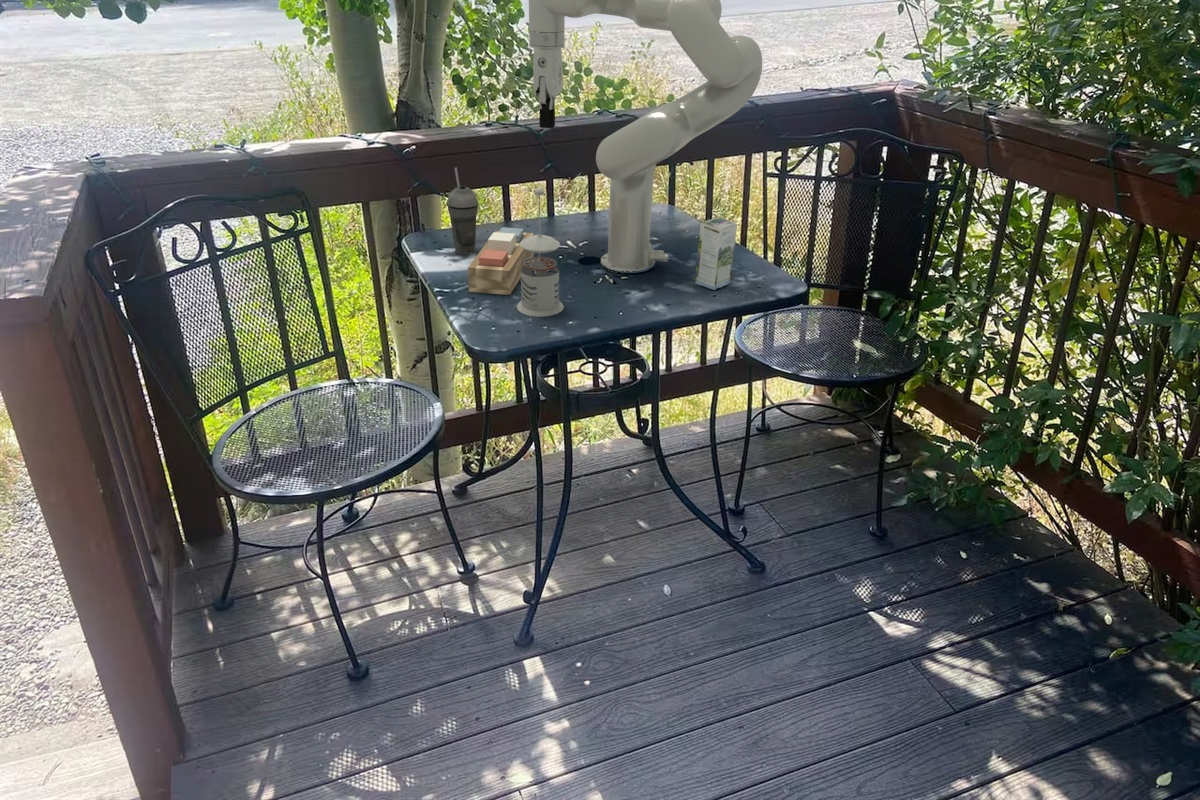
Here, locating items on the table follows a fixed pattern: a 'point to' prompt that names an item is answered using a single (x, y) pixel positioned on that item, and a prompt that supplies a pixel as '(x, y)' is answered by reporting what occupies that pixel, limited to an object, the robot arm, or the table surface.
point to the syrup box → (715, 251)
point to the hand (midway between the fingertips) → (547, 127)
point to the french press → (539, 275)
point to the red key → (493, 258)
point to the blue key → (515, 231)
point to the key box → (497, 272)
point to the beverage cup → (463, 217)
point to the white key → (502, 242)
